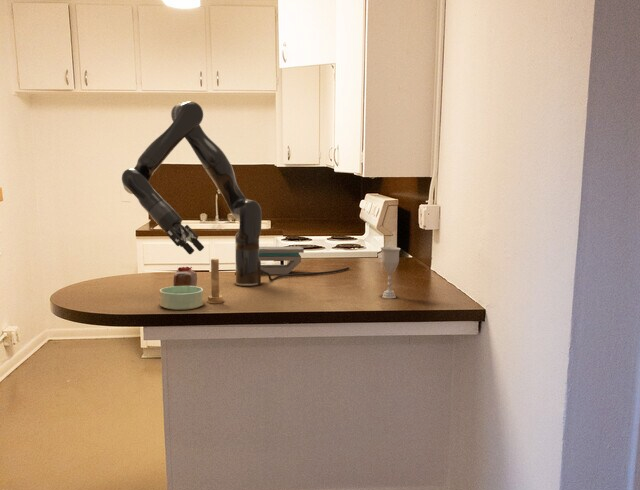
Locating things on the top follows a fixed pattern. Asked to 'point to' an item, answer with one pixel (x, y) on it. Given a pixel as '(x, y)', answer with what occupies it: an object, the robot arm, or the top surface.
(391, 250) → the chalice
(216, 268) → the wooden bolt
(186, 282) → the food item
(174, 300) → the bowl
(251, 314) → the top surface
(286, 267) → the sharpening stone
